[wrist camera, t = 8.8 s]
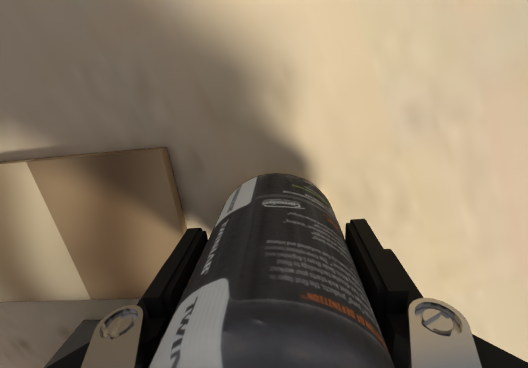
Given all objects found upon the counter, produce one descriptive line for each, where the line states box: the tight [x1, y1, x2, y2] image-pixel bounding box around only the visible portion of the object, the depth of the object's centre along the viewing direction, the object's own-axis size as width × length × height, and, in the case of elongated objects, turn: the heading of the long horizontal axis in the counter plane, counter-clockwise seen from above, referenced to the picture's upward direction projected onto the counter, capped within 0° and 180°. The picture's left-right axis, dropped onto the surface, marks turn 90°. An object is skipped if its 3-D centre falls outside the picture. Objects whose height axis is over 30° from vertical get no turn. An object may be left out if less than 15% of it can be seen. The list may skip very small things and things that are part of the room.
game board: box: [0, 147, 187, 302], centre depth 15 cm, size 21×9×1 cm, turn 96°
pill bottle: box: [148, 174, 395, 368], centre depth 8 cm, size 6×6×11 cm
